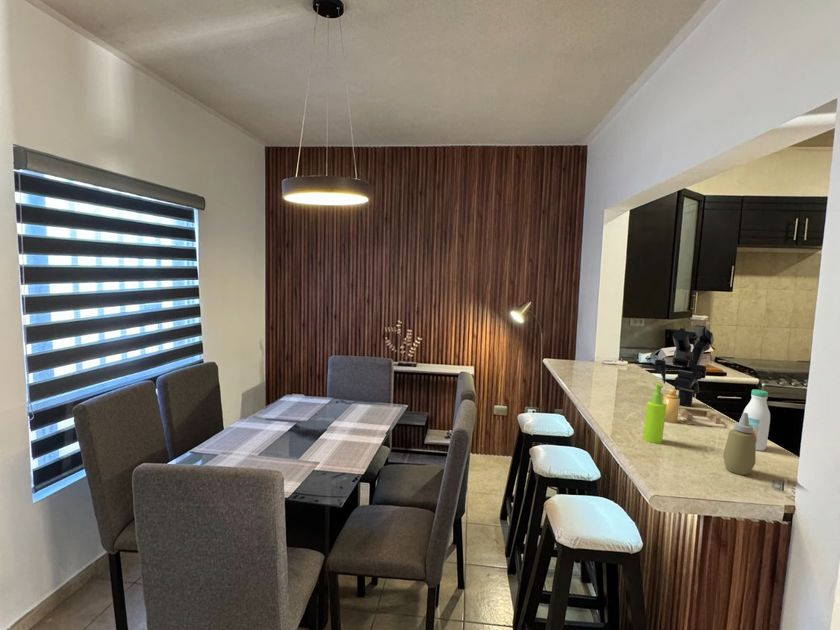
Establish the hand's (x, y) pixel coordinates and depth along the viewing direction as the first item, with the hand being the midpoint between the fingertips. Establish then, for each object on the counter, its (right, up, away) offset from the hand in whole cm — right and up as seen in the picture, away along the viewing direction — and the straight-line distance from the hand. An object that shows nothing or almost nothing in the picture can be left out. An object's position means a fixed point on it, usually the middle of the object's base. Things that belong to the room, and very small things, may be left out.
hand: (676, 385), depth 189 cm
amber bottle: (-6, -13, -5) cm, 15 cm away
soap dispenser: (-24, -15, -28) cm, 40 cm away
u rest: (+8, -14, -2) cm, 16 cm away
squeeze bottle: (-10, -18, -51) cm, 55 cm away
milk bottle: (+10, -17, -29) cm, 35 cm away
